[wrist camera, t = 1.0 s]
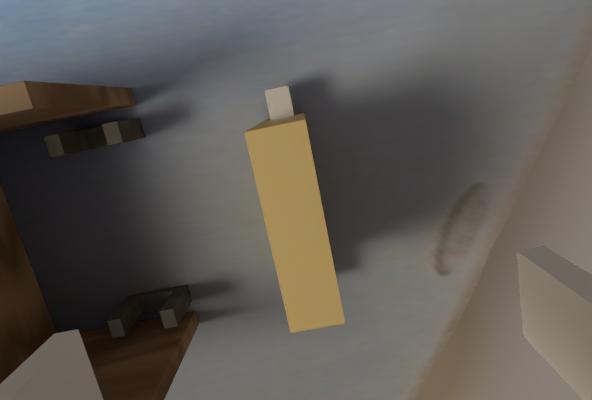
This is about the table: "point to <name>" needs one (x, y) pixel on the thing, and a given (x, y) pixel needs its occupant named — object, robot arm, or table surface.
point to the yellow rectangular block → (294, 215)
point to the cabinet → (22, 281)
